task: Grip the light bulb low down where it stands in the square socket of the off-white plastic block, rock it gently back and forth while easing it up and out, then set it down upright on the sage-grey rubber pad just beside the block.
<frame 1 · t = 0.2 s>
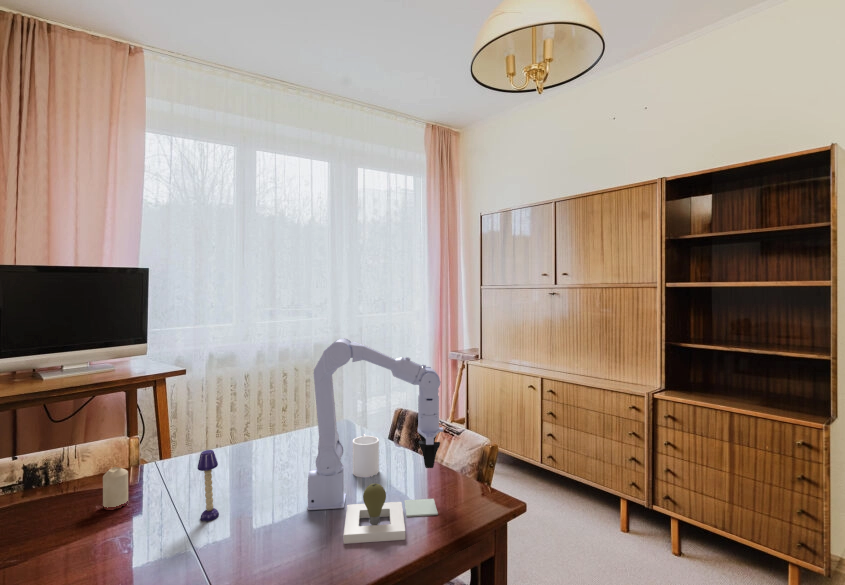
hand: (428, 461, 120), 10 cm above the table, tool pointing down, fingers open, 7 cm apart
candle: (115, 506, 116), on the table
rubber pad: (420, 508, 114), on the table
cup: (365, 470, 139), on the table
socket block: (374, 525, 106), on the table
toy lamp: (208, 517, 110), on the table
light bulb: (374, 526, 106), resting in socket block
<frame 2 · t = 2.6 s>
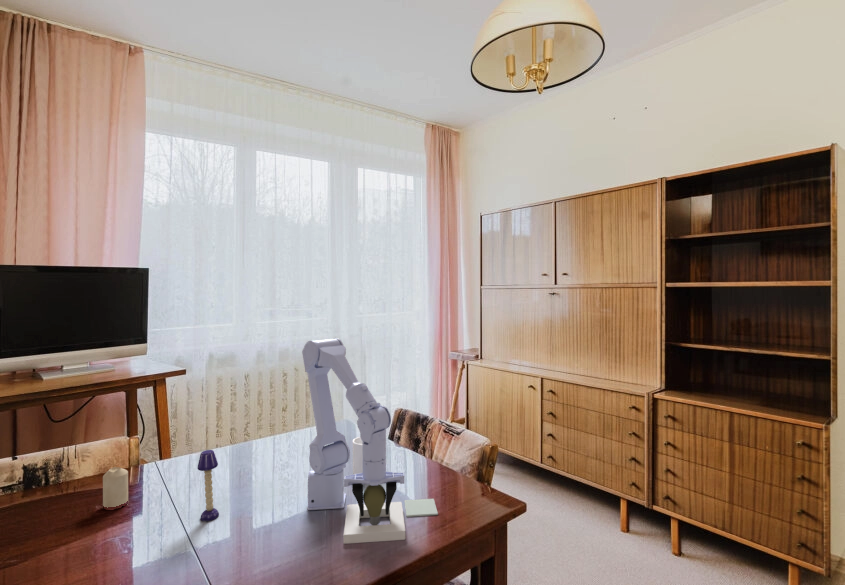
hand: (374, 513, 106), 3 cm above the table, tool pointing down, fingers closed on light bulb, 5 cm apart
light bulb: (374, 526, 106), resting in socket block, touching gripper
everything else where it was.
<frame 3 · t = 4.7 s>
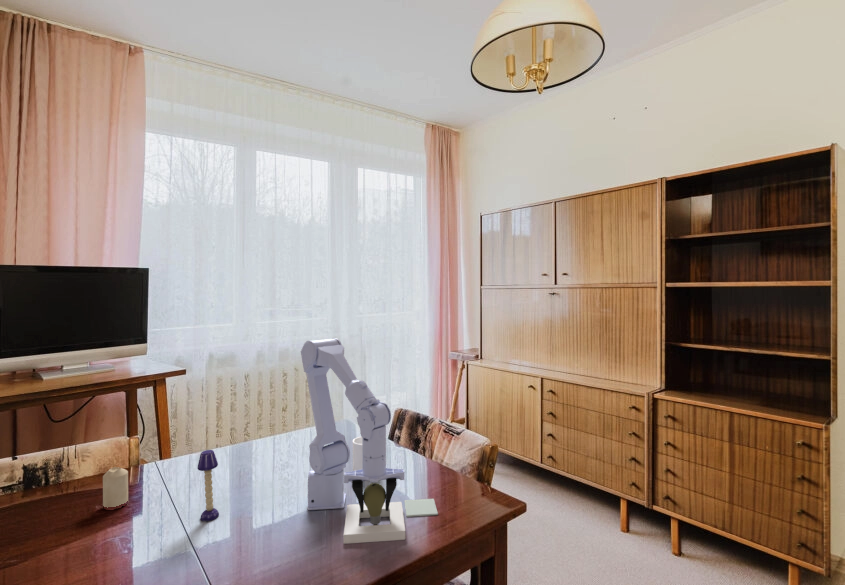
hand: (374, 509, 106), 4 cm above the table, tool pointing down, fingers closed on light bulb, 5 cm apart
light bulb: (375, 525, 106), resting in socket block, touching gripper
everything else where it was.
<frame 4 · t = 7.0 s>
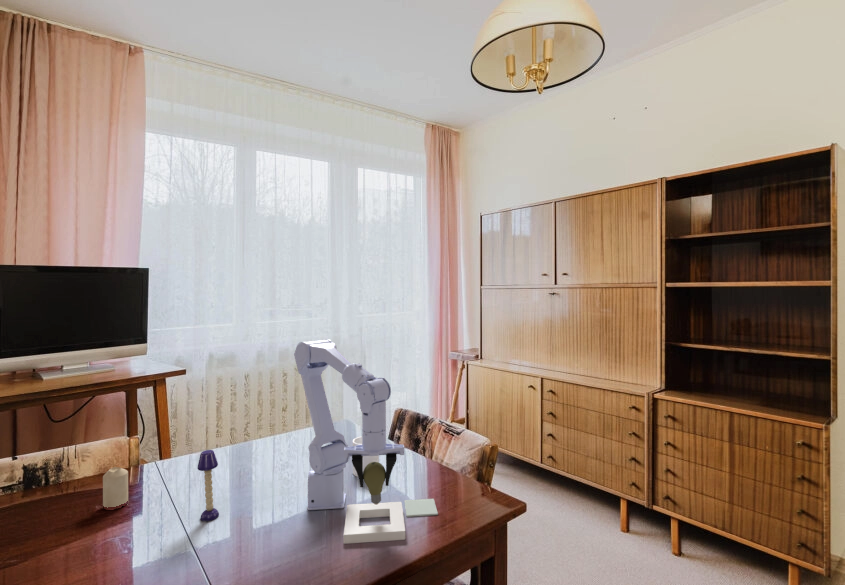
hand: (374, 484, 106), 10 cm above the table, tool pointing down, fingers closed on light bulb, 5 cm apart
light bulb: (376, 504, 106), point 5 cm above the table, touching gripper
everything else where it was.
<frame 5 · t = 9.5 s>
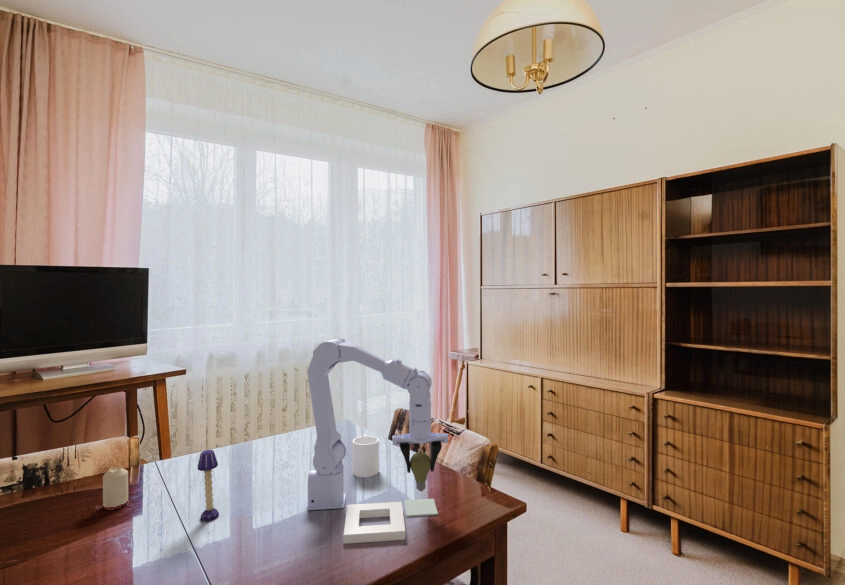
hand: (420, 470, 114), 10 cm above the table, tool pointing down, fingers closed on light bulb, 5 cm apart
light bulb: (421, 491, 114), point 5 cm above the table, touching gripper
everything else where it was.
when the fingers open (4 cm above the table, at t = 11.7 s): light bulb stays where it is, resting on rubber pad.
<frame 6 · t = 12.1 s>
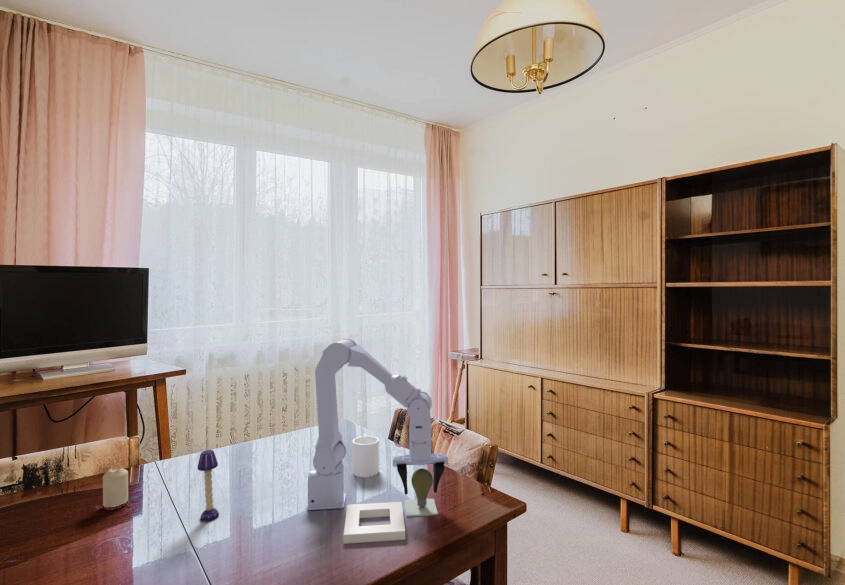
hand: (420, 491, 114), 4 cm above the table, tool pointing down, fingers open, 7 cm apart
light bulb: (421, 508, 114), resting on rubber pad
everything else where it was.
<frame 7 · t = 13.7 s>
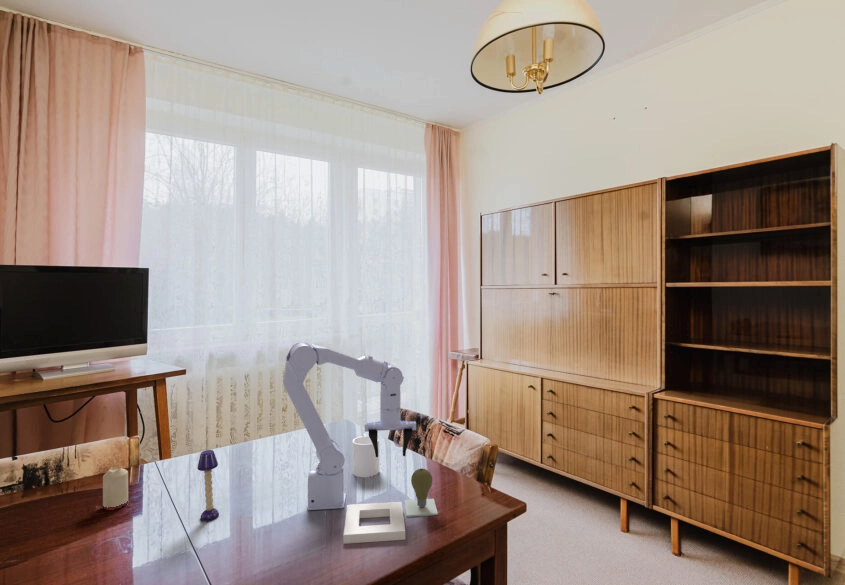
hand: (390, 455, 124), 10 cm above the table, tool pointing down, fingers open, 7 cm apart
nothing on the table moved.
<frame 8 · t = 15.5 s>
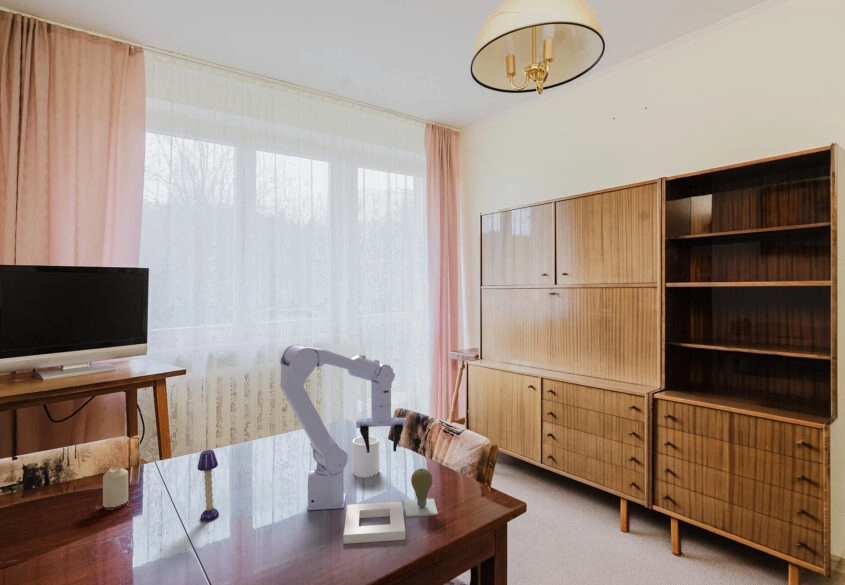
hand: (381, 451, 127), 10 cm above the table, tool pointing down, fingers open, 7 cm apart
nothing on the table moved.
at the end: light bulb 0.5 cm off-centre on the rubber pad, point 0.2 cm above the rubber pad's base; light bulb tilted 0°; the gripper is holding nothing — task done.
